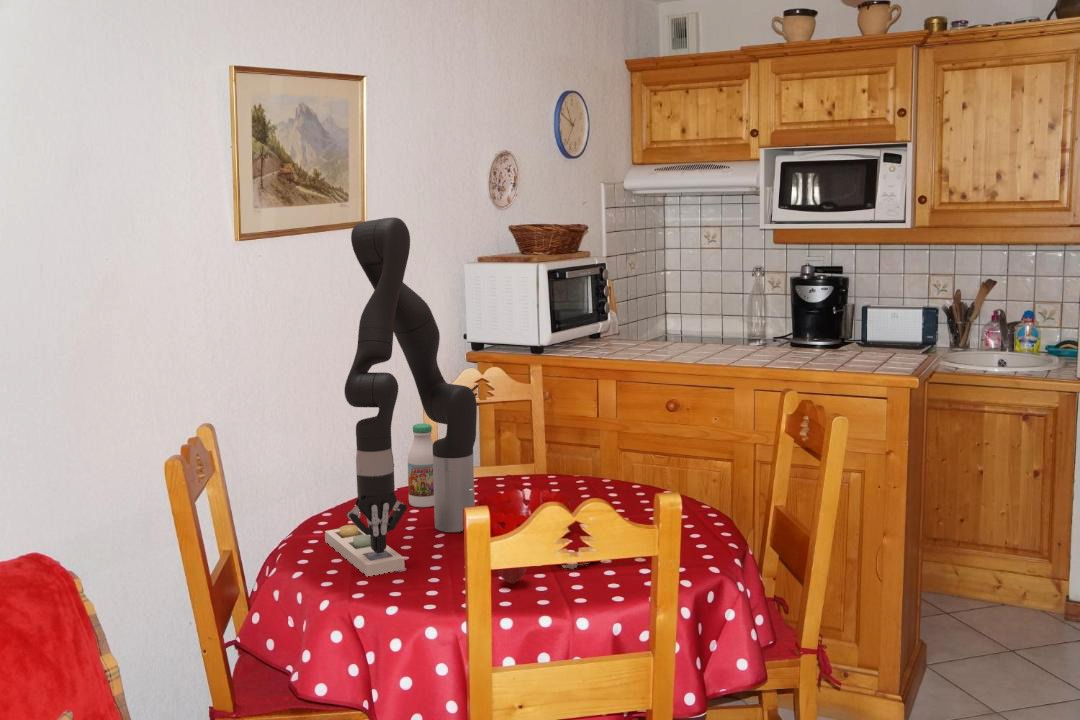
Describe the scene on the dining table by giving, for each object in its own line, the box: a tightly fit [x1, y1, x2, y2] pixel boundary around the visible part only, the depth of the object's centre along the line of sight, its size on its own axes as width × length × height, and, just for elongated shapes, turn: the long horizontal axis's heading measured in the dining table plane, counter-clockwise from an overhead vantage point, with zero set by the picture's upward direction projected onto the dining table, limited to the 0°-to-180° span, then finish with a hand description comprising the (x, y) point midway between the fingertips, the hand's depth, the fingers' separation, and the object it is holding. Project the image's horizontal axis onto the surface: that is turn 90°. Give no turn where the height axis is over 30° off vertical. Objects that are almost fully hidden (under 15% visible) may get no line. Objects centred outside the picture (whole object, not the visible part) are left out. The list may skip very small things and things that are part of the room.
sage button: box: [353, 535, 371, 549], centre depth 222 cm, size 4×4×2 cm
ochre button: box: [339, 524, 359, 538], centre depth 229 cm, size 4×4×2 cm
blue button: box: [368, 552, 388, 561], centre depth 215 cm, size 4×4×2 cm
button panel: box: [324, 528, 405, 578], centre depth 222 cm, size 8×26×2 cm, turn 30°
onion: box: [497, 567, 528, 585], centre depth 204 cm, size 6×6×8 cm
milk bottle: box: [407, 423, 434, 508], centre depth 259 cm, size 8×8×20 cm
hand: (378, 551), depth 215 cm, fingers closed
